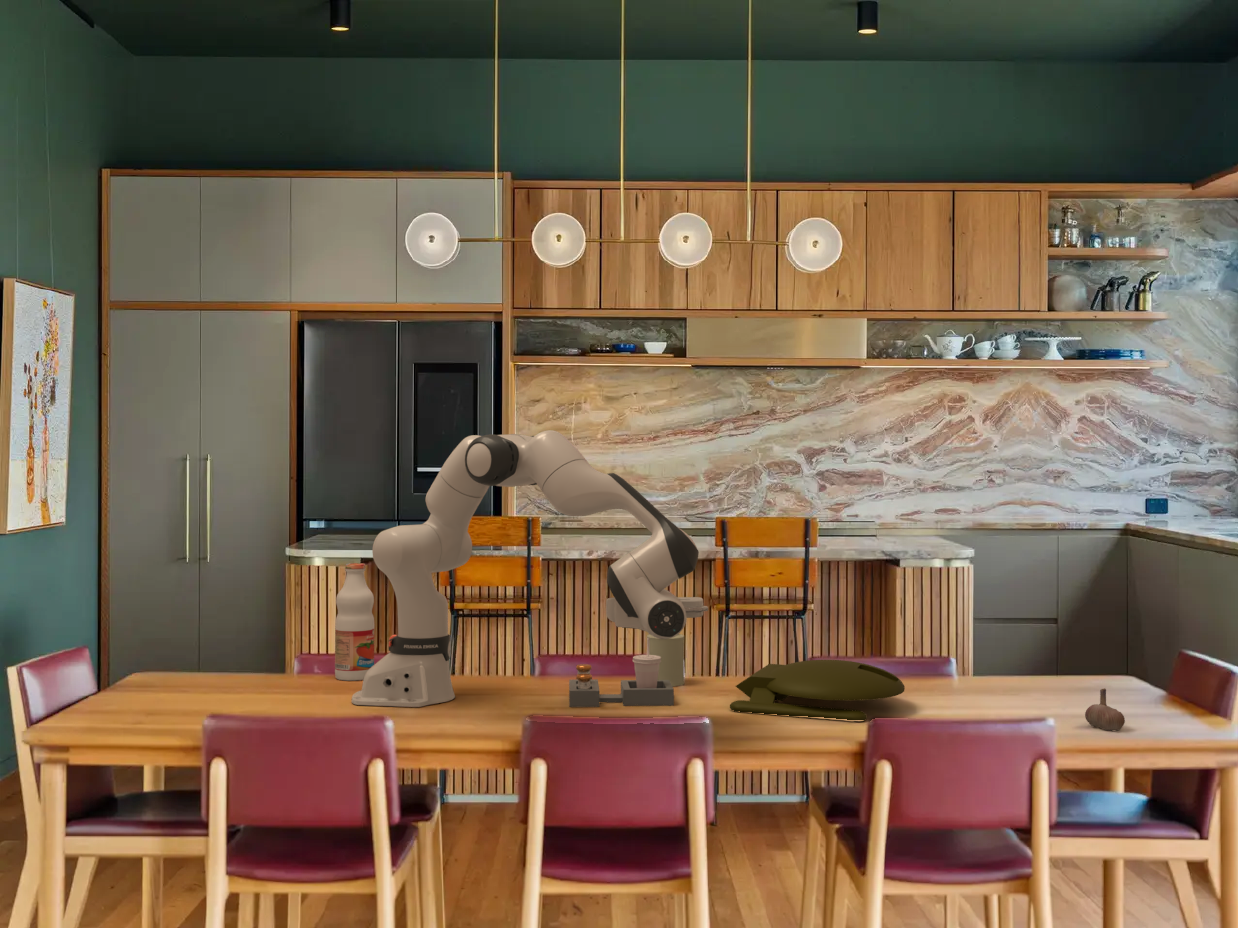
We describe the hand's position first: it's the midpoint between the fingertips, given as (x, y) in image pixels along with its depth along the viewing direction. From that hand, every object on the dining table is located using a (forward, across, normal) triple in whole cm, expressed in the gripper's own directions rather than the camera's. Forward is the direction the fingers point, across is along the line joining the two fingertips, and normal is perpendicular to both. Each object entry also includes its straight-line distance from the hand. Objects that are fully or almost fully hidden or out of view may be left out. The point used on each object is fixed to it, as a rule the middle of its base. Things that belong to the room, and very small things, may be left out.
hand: (651, 604), depth 234 cm
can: (+32, -6, +22) cm, 40 cm away
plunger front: (+9, +14, +22) cm, 28 cm away
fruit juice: (+42, +70, +21) cm, 84 cm away
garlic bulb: (-18, -89, +25) cm, 94 cm away
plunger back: (+15, +14, +21) cm, 29 cm away
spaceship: (+7, -38, +24) cm, 45 cm away
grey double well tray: (+12, +6, +22) cm, 26 cm away
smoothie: (+12, 0, +23) cm, 26 cm away
